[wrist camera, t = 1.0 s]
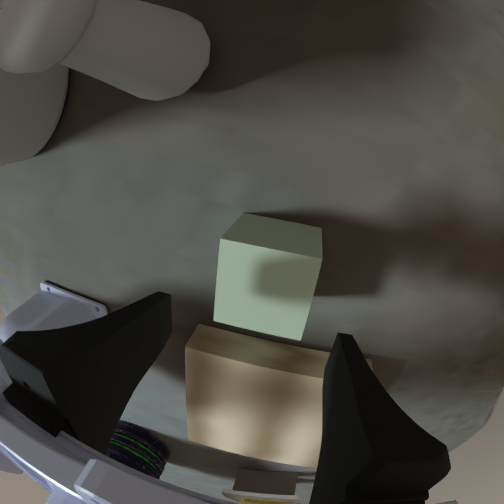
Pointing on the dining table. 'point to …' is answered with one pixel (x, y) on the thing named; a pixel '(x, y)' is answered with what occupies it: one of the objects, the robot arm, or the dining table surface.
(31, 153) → the cylinder vase
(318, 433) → the birch base
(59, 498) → the robot arm
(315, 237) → the green cube
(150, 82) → the salt shaker
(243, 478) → the platform
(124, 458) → the storage jar
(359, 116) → the dining table surface
